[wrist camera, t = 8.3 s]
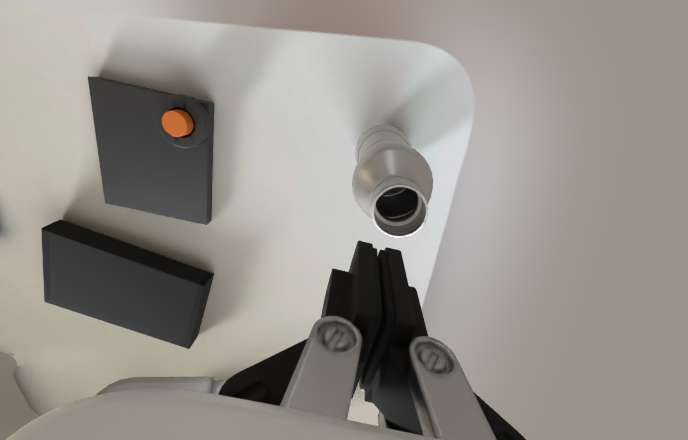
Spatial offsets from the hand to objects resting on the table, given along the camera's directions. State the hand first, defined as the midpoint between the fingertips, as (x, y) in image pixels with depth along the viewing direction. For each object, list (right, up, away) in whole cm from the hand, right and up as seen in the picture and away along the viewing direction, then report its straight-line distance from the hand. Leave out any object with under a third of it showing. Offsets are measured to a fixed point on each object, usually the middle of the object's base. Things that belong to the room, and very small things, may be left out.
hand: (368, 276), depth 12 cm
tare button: (-20, +13, +23) cm, 33 cm away
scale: (-25, +11, +27) cm, 38 cm away
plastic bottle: (+4, +11, +25) cm, 28 cm away
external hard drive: (-34, -8, +36) cm, 51 cm away
